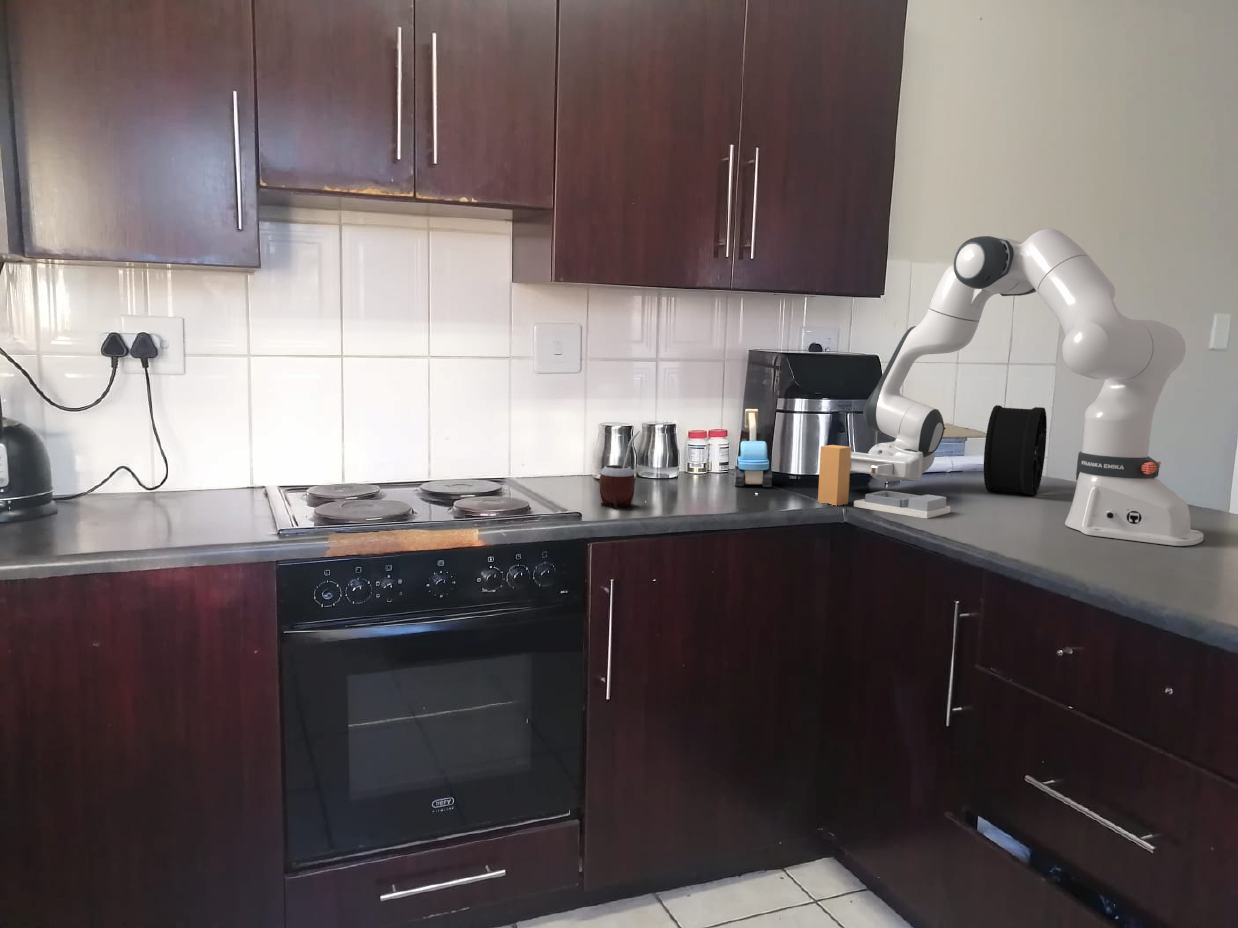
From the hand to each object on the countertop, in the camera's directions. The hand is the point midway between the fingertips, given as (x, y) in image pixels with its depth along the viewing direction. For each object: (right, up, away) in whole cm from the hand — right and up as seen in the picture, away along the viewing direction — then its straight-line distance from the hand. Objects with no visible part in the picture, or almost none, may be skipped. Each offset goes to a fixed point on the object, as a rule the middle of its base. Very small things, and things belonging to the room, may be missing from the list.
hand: (854, 467), depth 200 cm
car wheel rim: (+40, -6, +15) cm, 43 cm away
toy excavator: (-19, -4, +20) cm, 28 cm away
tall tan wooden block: (-6, -8, -5) cm, 11 cm away
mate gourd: (-51, -8, -13) cm, 53 cm away
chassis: (+7, -9, -10) cm, 15 cm away
